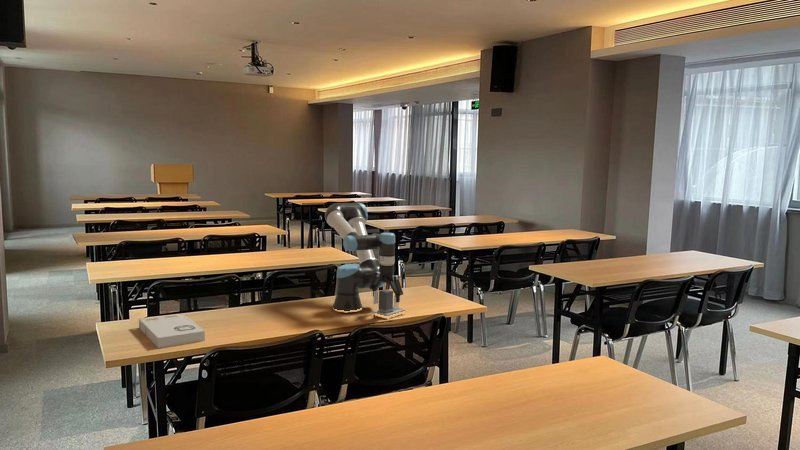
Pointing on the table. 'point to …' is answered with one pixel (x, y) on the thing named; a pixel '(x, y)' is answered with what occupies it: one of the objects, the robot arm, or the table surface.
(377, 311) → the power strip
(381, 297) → the charger
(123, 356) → the table surface
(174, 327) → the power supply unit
